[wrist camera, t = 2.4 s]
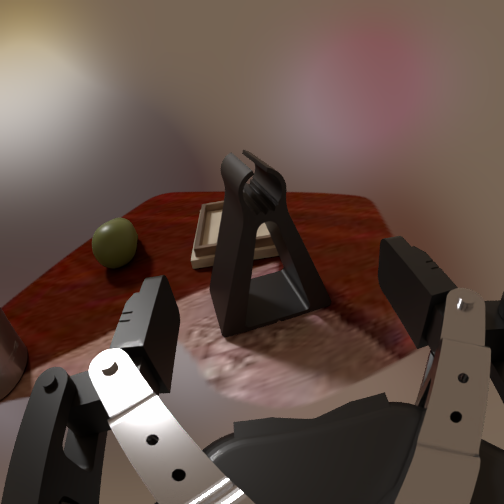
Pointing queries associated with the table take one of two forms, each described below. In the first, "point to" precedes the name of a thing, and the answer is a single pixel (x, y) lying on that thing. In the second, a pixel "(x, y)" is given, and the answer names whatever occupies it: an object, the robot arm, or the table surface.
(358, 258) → the table surface
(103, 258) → the pear
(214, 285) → the phone stand
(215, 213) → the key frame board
